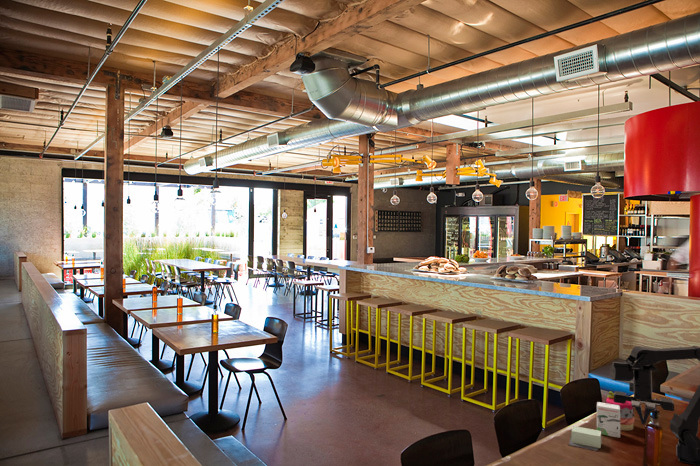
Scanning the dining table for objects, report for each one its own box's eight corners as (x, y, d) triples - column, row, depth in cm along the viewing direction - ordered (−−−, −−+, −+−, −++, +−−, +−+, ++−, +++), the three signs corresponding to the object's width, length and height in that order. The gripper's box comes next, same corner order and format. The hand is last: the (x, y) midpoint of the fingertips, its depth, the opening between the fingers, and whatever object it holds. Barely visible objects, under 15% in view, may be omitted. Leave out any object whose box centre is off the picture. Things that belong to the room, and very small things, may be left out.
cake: (609, 419, 205) (608, 385, 206) (636, 425, 198) (636, 390, 199) (603, 426, 197) (603, 391, 198) (631, 432, 190) (631, 396, 191)
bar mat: (599, 440, 183) (599, 439, 183) (597, 451, 174) (597, 450, 174) (571, 435, 188) (571, 434, 188) (568, 445, 179) (568, 444, 179)
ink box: (596, 433, 190) (596, 405, 190) (596, 429, 194) (596, 401, 194) (620, 438, 185) (620, 408, 186) (620, 433, 190) (620, 405, 190)
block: (601, 431, 181) (573, 425, 186) (600, 436, 176) (571, 430, 181) (601, 442, 181) (573, 437, 186) (600, 448, 175) (571, 442, 181)
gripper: (671, 380, 172) (672, 421, 171) (614, 372, 181) (614, 412, 181) (673, 388, 162) (674, 432, 162) (613, 380, 172) (614, 421, 172)
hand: (643, 424), depth 169 cm, fingers closed
